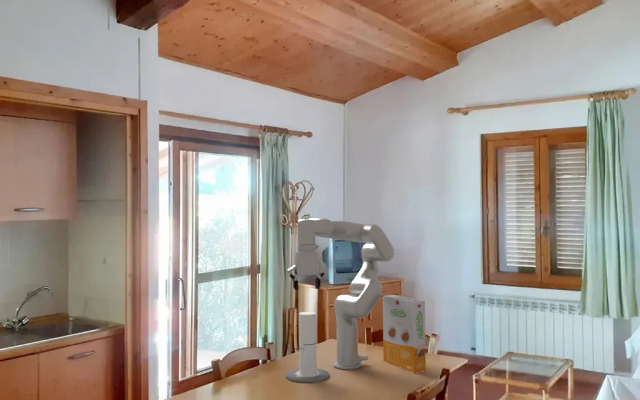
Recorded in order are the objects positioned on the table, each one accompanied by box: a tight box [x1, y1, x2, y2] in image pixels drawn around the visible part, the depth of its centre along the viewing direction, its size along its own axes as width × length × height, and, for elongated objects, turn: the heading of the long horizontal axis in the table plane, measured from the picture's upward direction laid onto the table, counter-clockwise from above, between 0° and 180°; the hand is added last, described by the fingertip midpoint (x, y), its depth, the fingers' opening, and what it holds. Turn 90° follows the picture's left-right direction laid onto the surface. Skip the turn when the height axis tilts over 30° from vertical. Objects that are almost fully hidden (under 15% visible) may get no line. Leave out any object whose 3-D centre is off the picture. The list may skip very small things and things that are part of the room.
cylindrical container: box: [298, 311, 318, 376], centre depth 232 cm, size 7×7×25 cm
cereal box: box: [382, 294, 427, 374], centre depth 246 cm, size 22×6×30 cm, turn 28°
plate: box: [285, 368, 330, 384], centre depth 231 cm, size 18×18×1 cm
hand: (307, 289), depth 233 cm, fingers open, 9 cm apart
